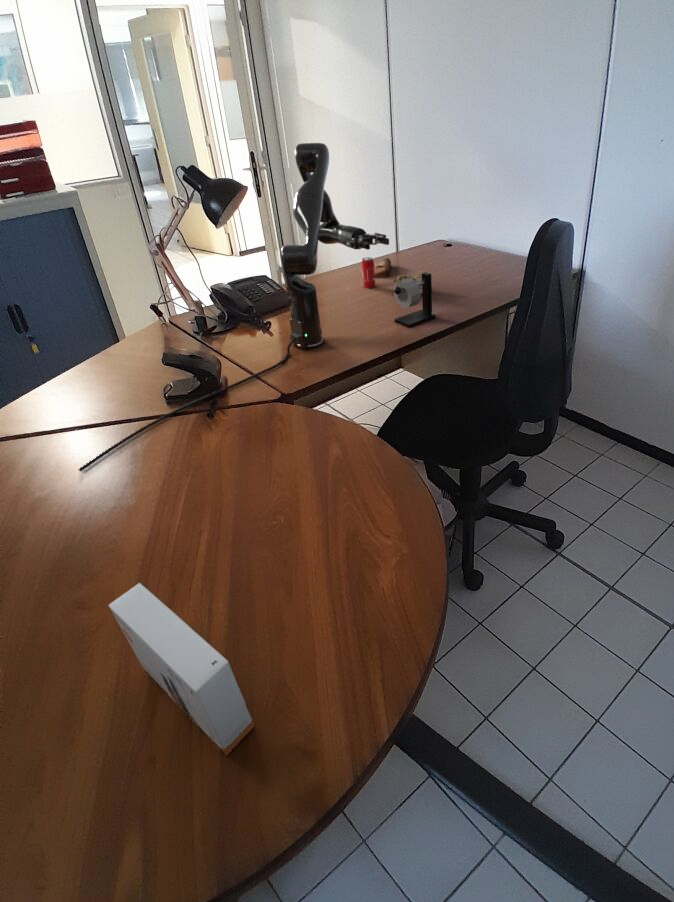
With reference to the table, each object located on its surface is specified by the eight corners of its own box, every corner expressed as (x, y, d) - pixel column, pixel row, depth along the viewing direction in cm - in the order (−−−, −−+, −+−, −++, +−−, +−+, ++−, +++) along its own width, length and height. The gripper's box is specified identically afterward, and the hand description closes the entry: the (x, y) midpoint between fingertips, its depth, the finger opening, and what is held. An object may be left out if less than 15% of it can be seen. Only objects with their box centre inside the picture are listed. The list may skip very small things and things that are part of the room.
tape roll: (410, 312, 193) (411, 286, 187) (393, 302, 199) (394, 277, 193) (420, 308, 196) (421, 283, 190) (403, 299, 201) (404, 274, 196)
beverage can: (370, 289, 234) (368, 261, 227) (361, 287, 236) (358, 259, 230) (377, 285, 237) (376, 258, 231) (368, 283, 240) (366, 256, 234)
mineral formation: (424, 298, 220) (388, 294, 223) (430, 293, 232) (396, 289, 235) (425, 278, 217) (389, 274, 220) (432, 273, 229) (397, 270, 232)
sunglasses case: (373, 265, 262) (379, 252, 259) (386, 272, 264) (392, 260, 261) (370, 276, 247) (377, 263, 244) (384, 284, 248) (391, 271, 245)
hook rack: (404, 329, 194) (402, 285, 186) (390, 323, 199) (387, 280, 191) (436, 317, 202) (436, 275, 194) (422, 312, 208) (421, 270, 200)
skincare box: (140, 673, 83) (105, 603, 75) (172, 648, 87) (142, 578, 78) (224, 761, 72) (194, 691, 63) (256, 728, 75) (233, 657, 67)
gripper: (335, 230, 197) (361, 236, 187) (366, 223, 205) (394, 229, 194) (337, 251, 201) (363, 258, 190) (368, 243, 209) (395, 250, 198)
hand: (378, 244), depth 192 cm, fingers open, 8 cm apart
